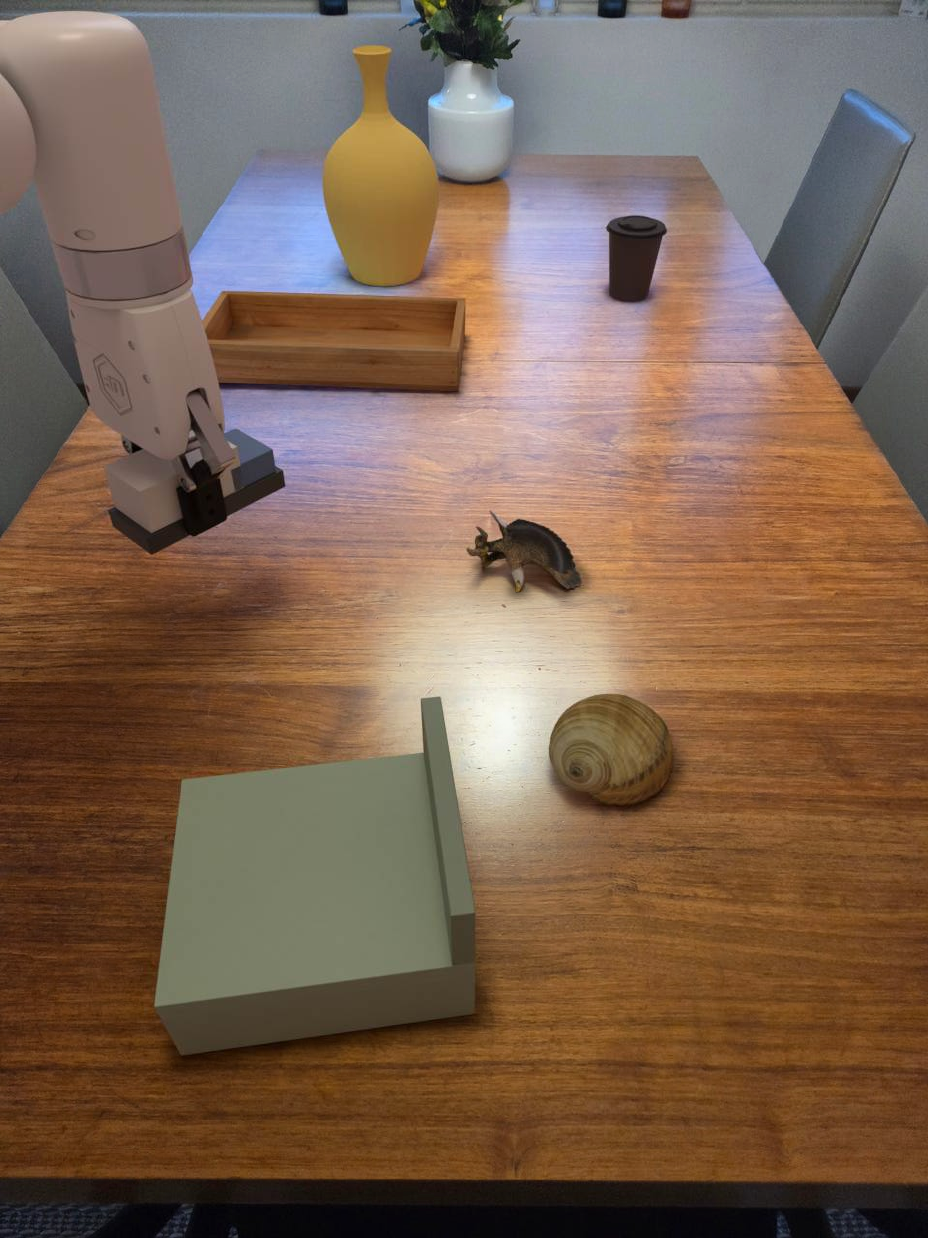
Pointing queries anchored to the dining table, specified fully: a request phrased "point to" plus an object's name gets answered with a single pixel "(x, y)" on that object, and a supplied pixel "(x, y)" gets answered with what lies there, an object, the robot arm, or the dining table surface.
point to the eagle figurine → (527, 551)
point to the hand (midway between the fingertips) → (183, 509)
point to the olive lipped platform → (318, 901)
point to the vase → (380, 187)
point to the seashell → (612, 749)
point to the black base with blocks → (152, 482)
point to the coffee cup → (633, 255)
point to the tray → (337, 340)
